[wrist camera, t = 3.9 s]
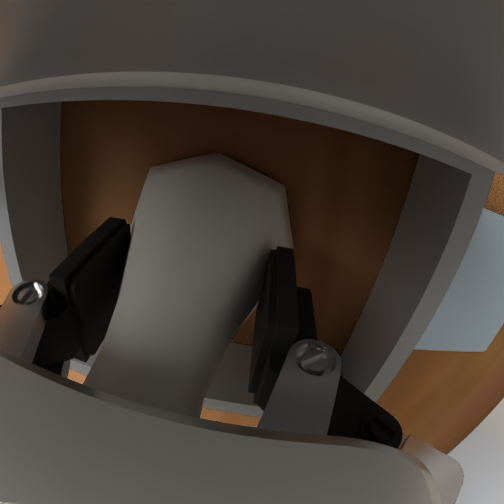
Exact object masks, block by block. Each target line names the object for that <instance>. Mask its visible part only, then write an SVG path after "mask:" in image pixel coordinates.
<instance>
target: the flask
mask: <svg viewBox="0 0 504 504" xmlns="http://www.w3.org/2000/svg"><path fill="white" fill-rule="evenodd" d="M130 233H131V238H130V242H129V246H128V251H127V255H126V259H125V264H124V268H123V272H122V278H121V283H120V288H119V294H118V300H117V304H116V307H115V310H114V313H113V316H112V318H111V321H110V324H109V327H108V330H107V333H106V336H105V339H104V343H103V346H102V348H101V350H100V352H99V354H98V356H97V358H96V359H95V361H94V363H93V365H92V367H91V369H90V371H89V373H88V375H87V377H86V379H85V381H84V383H83V385H85V386H88V387H90V388H93V389H96V390H99V391H102V392H105V393H108V394H111V395H114V396H117V397H120V398H123V399H126V400H130V401H133V402H136V403H140V404H143V405H147V406H151V407H154V408H158V409H162V410H166V411H170V412H174V413H178V414H183V415H187V416H192V417H196V418H200V414H201V410H202V406H203V402H204V398H205V395H206V393H207V391H208V389H209V387H210V384H211V382H212V380H213V378H214V376H215V373H216V371H217V369H218V367H219V364H220V362H221V360H222V358H223V356H224V353H225V351H226V349H227V347H228V345H229V343H230V342H231V340H232V339H233V337H234V336H235V334H236V333H237V332H238V330H239V329H240V327H241V326H242V325H243V323H244V322H245V321H246V319H247V318H248V317H249V316H250V314H251V313H252V312H253V310H254V309H255V308H256V307H257V305H258V303H259V300H260V298H261V296H262V293H263V287H264V281H265V275H266V268H267V262H268V258H269V253H270V249H274V250H276V249H277V246H281V247H286V248H292V249H293V250H294V248H293V240H292V232H291V225H290V218H289V211H288V204H287V197H286V190H285V186H284V185H282V184H280V183H279V182H277V181H275V180H273V179H271V178H269V177H267V176H265V175H263V174H261V173H259V172H257V171H255V170H253V169H251V168H249V167H247V166H245V165H243V164H241V163H239V162H237V161H235V160H233V159H231V158H228V157H226V156H224V155H222V154H220V153H212V154H207V155H202V156H197V157H193V158H188V159H183V160H179V161H174V162H170V163H166V164H162V165H157V166H153V167H150V169H149V172H148V175H147V178H146V181H145V183H144V186H143V189H142V192H141V195H140V198H139V201H138V204H137V207H136V210H135V213H134V217H133V220H132V223H131V227H130Z"/></svg>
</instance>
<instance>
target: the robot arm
mask: <svg viewBox="0 0 504 504" xmlns="http://www.w3.org/2000/svg"><path fill="white" fill-rule="evenodd" d="M130 238H131V233H130V225H129V224H127V223H126V220H125V219H120V218H114V217H110V218H108V219H107V220H106V221H105V222H104V223H103V224H102V225H101V226H100V227H98V228H97V229H96V230H95V231H94V232H93V233H92V234H91V235H90V236H89V237H88V238H86V239H85V240H84V241H83V242H82V243H81V244H80V245H79V246H78V247H77V248H76V249H75V250H74V251H73V252H72V253H71V254H70V255H69V256H68V257H67V258H66V259H65V260H64V261H63V262H62V263H61V264H60V265H59V266H58V267H57V268H56V269H55V270H54V271H53V272H52V273H51V274H50V275H49V278H50V280H49V281H48V282H47V283H46V284H45V283H44V282H43V281H41V280H36V279H31V280H26V281H22V282H20V283H18V284H17V285H15V286H14V287H13V288H12V289H11V291H10V292H9V294H8V295H7V297H6V299H5V301H4V303H3V304H2V305H0V504H455V502H456V499H457V497H458V494H459V492H460V489H461V486H462V484H463V478H464V474H463V469H462V467H461V465H460V464H459V463H458V462H457V461H456V460H454V459H453V458H451V457H449V456H447V455H446V454H444V453H442V452H440V451H439V450H437V449H435V448H433V447H432V446H430V445H428V444H426V443H425V442H423V441H421V440H420V439H418V438H416V437H415V436H413V435H411V434H410V435H409V436H405V435H403V433H402V429H401V426H400V424H399V423H398V421H397V420H396V419H395V418H394V417H393V416H392V415H391V414H389V413H388V412H387V411H386V410H384V409H383V408H382V407H380V406H379V405H378V404H376V403H375V402H374V401H373V400H371V399H370V398H369V397H367V396H366V395H365V394H364V393H362V392H361V391H360V390H358V389H357V388H356V387H355V386H353V385H352V384H351V383H350V382H348V381H347V380H346V379H345V378H343V377H342V376H341V375H340V373H341V368H342V361H341V358H340V356H339V354H338V353H337V352H336V350H335V349H334V348H332V347H331V346H330V345H328V344H326V343H324V342H322V341H319V340H317V334H316V326H315V318H314V310H313V303H312V295H311V290H310V289H307V288H301V287H297V285H296V273H295V261H294V250H293V249H292V248H286V247H281V246H277V249H276V250H274V249H270V253H269V258H268V262H267V268H266V275H265V281H264V287H263V293H262V296H261V298H260V300H259V303H258V307H257V312H256V318H255V328H254V338H253V348H252V357H251V367H250V376H249V386H248V392H249V393H254V400H253V403H257V405H258V406H259V407H260V408H261V409H262V410H263V411H264V413H263V415H262V417H261V419H260V422H259V424H258V426H257V428H254V427H248V426H241V425H234V424H228V423H222V422H217V421H211V420H206V419H201V418H196V417H192V416H187V415H183V414H178V413H174V412H170V411H166V410H162V409H158V408H154V407H151V406H147V405H143V404H140V403H136V402H133V401H130V400H126V399H123V398H120V397H117V396H114V395H111V394H108V393H105V392H102V391H99V390H96V389H93V388H90V387H88V386H85V385H82V384H80V383H77V382H75V381H72V380H69V379H67V377H68V372H69V368H70V360H71V359H73V358H75V359H77V360H80V361H83V362H87V361H88V359H89V357H90V355H95V353H96V352H97V350H98V348H99V347H100V345H101V343H102V341H103V340H104V338H105V336H106V333H107V330H108V327H109V324H110V321H111V318H112V316H113V313H114V310H115V307H116V304H117V300H118V294H119V288H120V283H121V278H122V272H123V268H124V264H125V259H126V255H127V251H128V246H129V242H130Z"/></svg>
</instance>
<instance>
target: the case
mask: <svg viewBox="0 0 504 504" xmlns="http://www.w3.org/2000/svg"><path fill="white" fill-rule="evenodd" d="M84 100H141V101H162V102H177V103H190V104H200V105H210V106H218V107H226V108H234V109H241V110H248V111H254V112H260V113H266V114H272V115H277V116H282V117H288V118H293V119H298V120H302V121H307V122H311V123H316V124H320V125H324V126H329V127H333V128H337V129H341V130H344V131H348V132H352V133H356V134H359V135H363V136H366V137H370V138H373V139H376V140H380V141H383V142H386V143H389V144H393V145H396V146H399V147H402V148H405V149H408V150H411V151H413V152H416V153H419V157H418V161H417V164H416V168H415V171H414V175H413V178H412V181H411V185H410V188H409V191H408V194H407V197H406V201H405V204H404V207H403V210H402V213H401V216H400V219H399V221H398V224H397V227H396V230H395V233H394V235H393V238H392V241H391V244H390V246H389V249H388V251H387V254H386V257H385V259H384V262H383V264H382V267H381V269H380V272H379V274H378V276H377V279H376V281H375V284H374V286H373V288H372V291H371V293H370V295H369V298H368V300H367V302H366V304H365V307H364V309H363V311H362V313H361V315H360V317H359V320H358V322H357V324H356V326H355V328H354V330H353V332H352V334H351V336H350V338H349V340H348V342H347V344H346V346H345V348H344V350H343V352H342V354H341V356H340V358H341V361H342V368H341V373H340V375H341V376H342V377H343V378H345V379H346V380H347V381H348V382H350V383H351V384H352V385H353V386H355V387H356V388H357V389H358V390H360V391H361V392H362V393H364V394H365V395H366V396H367V397H369V398H370V399H371V400H373V401H374V402H375V403H376V402H377V401H378V399H379V398H380V397H381V395H382V394H383V393H384V391H385V390H386V389H387V387H388V386H389V385H390V383H391V382H392V380H393V379H394V378H395V376H396V375H397V373H398V372H399V371H400V369H401V368H402V366H403V365H404V363H405V362H406V360H407V359H408V357H409V356H410V354H411V353H412V351H413V350H414V348H415V346H416V345H417V343H418V342H419V340H420V338H421V337H422V335H423V334H424V332H425V330H426V329H427V327H428V325H429V324H430V322H431V320H432V318H433V317H434V315H435V313H436V311H437V309H438V308H439V306H440V304H441V302H442V300H443V298H444V297H445V295H446V293H447V291H448V289H449V287H450V285H451V283H452V281H453V279H454V277H455V275H456V273H457V271H458V269H459V266H460V264H461V262H462V260H463V258H464V256H465V253H466V251H467V249H468V246H469V244H470V242H471V239H472V237H473V234H474V232H475V230H476V227H477V224H478V222H479V219H480V217H481V214H482V211H483V208H484V206H485V203H486V200H487V197H488V194H489V191H490V188H491V185H492V181H493V178H494V175H495V173H497V174H500V175H504V163H503V162H501V161H500V160H498V159H496V158H494V157H492V156H490V155H488V154H486V153H485V152H483V151H481V150H479V149H477V148H475V147H473V146H470V145H468V144H466V143H464V142H462V141H460V140H458V139H456V138H453V137H451V136H449V135H447V134H444V133H442V132H440V131H437V130H435V129H432V128H430V127H427V126H425V125H422V124H420V123H417V122H415V121H412V120H409V119H407V118H404V117H401V116H398V115H395V114H392V113H390V112H387V111H384V110H380V109H377V108H374V107H371V106H368V105H364V104H361V103H358V102H354V101H351V100H347V99H343V98H340V97H336V96H332V95H328V94H324V93H320V92H315V91H311V90H307V89H302V88H297V87H292V86H287V85H282V84H276V83H270V82H264V81H258V80H251V79H244V78H237V77H228V76H219V75H209V74H196V73H180V72H105V73H90V74H78V75H68V76H59V77H52V78H45V79H38V80H32V81H26V82H21V83H16V84H11V85H6V86H2V87H0V242H1V247H2V251H3V255H4V259H5V263H6V267H7V271H8V274H9V278H10V282H11V285H12V288H13V287H14V286H15V285H17V284H18V283H20V282H22V281H26V280H31V279H36V280H41V281H43V282H44V283H45V284H46V283H47V282H48V281H49V280H50V278H49V275H50V274H51V273H52V272H53V271H54V270H55V269H56V268H57V267H58V266H59V265H60V264H61V263H62V262H63V261H64V260H65V259H66V258H67V257H68V249H67V242H66V234H65V226H64V216H63V205H62V191H61V169H60V126H61V105H62V102H63V101H84ZM104 339H105V338H104ZM103 343H104V340H103V341H102V343H101V345H100V347H99V348H98V350H97V352H96V353H95V355H90V357H89V359H88V361H87V362H83V361H80V360H77V359H75V358H73V359H71V360H70V368H69V369H70V370H73V371H75V372H78V373H81V374H83V375H86V376H87V375H88V373H89V371H90V369H91V367H92V365H93V363H94V361H95V359H96V358H97V356H98V354H99V352H100V350H101V348H102V346H103ZM252 348H253V346H250V345H244V344H238V343H232V342H230V343H229V345H228V347H227V349H226V351H225V353H224V356H223V358H222V360H221V362H220V364H219V367H218V369H217V371H216V373H215V376H214V378H213V380H212V382H211V384H210V387H209V389H208V391H207V393H206V395H205V398H204V402H203V406H202V408H206V409H211V410H217V411H222V412H228V413H234V414H241V415H248V416H255V417H262V415H263V413H264V411H263V410H262V409H261V408H260V407H259V406H258V405H257V403H253V400H254V393H249V392H248V386H249V376H250V367H251V357H252Z"/></svg>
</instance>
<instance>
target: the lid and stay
mask: <svg viewBox="0 0 504 504" xmlns="http://www.w3.org/2000/svg"><path fill="white" fill-rule="evenodd" d="M105 72H180V73H196V74H209V75H219V76H228V77H237V78H244V79H251V80H258V81H264V82H270V83H276V84H282V85H287V86H292V87H297V88H302V89H307V90H311V91H315V92H320V93H324V94H328V95H332V96H336V97H340V98H343V99H347V100H351V101H354V102H358V103H361V104H364V105H368V106H371V107H374V108H377V109H380V110H384V111H387V112H390V113H392V114H395V115H398V116H401V117H404V118H407V119H409V120H412V121H415V122H417V123H420V124H422V125H425V126H427V127H430V128H432V129H435V130H437V131H440V132H442V133H444V134H447V135H449V136H451V137H453V138H456V139H458V140H460V141H462V142H464V143H466V144H468V145H470V146H473V147H475V148H477V149H479V150H481V151H483V152H485V153H486V154H488V155H490V156H492V157H494V158H496V159H498V160H500V161H501V162H503V163H504V0H0V87H2V86H6V85H11V84H16V83H21V82H26V81H32V80H38V79H45V78H52V77H59V76H68V75H78V74H90V73H105Z"/></svg>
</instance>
